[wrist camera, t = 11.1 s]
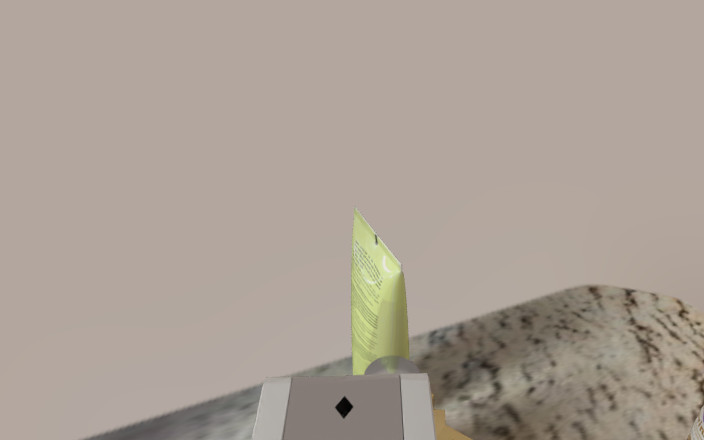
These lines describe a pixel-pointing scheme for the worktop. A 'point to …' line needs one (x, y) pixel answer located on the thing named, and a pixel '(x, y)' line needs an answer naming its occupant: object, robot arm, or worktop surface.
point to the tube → (376, 299)
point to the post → (391, 366)
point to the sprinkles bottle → (698, 427)
